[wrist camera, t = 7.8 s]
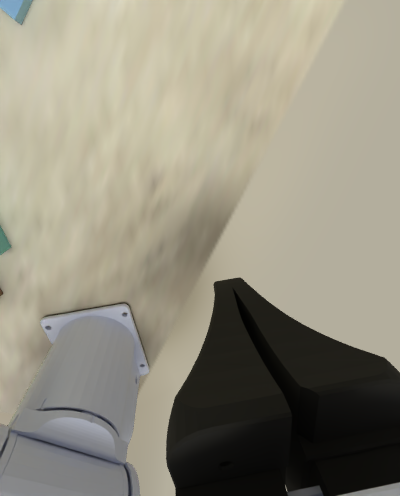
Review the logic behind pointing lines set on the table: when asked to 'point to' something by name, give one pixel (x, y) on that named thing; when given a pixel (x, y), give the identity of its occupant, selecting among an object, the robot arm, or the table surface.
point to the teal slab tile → (3, 242)
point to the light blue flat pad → (16, 8)
